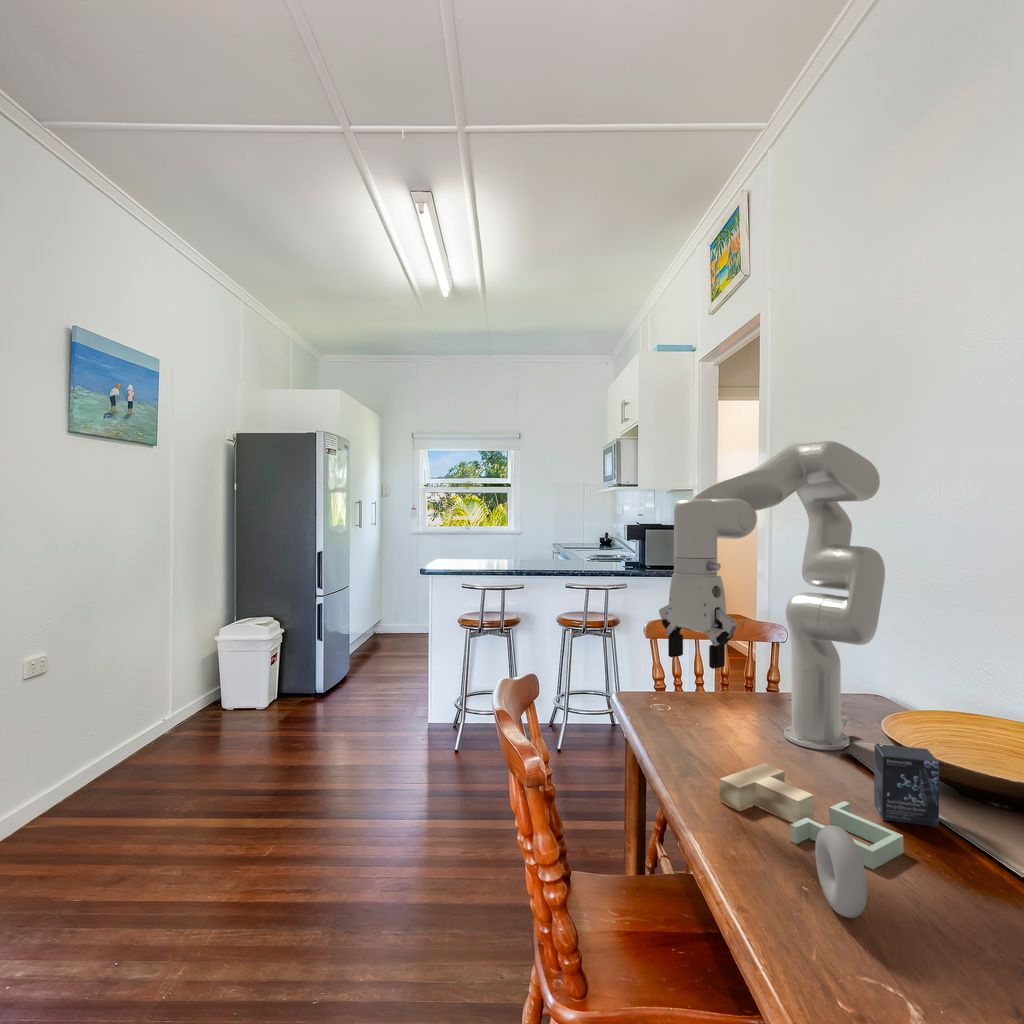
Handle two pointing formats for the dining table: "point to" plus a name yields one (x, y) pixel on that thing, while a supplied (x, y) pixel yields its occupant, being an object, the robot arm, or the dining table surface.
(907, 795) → the box
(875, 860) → the t dock
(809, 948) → the dining table surface
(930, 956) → the dining table surface
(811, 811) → the t block
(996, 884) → the dining table surface
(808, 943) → the dining table surface
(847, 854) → the donut
